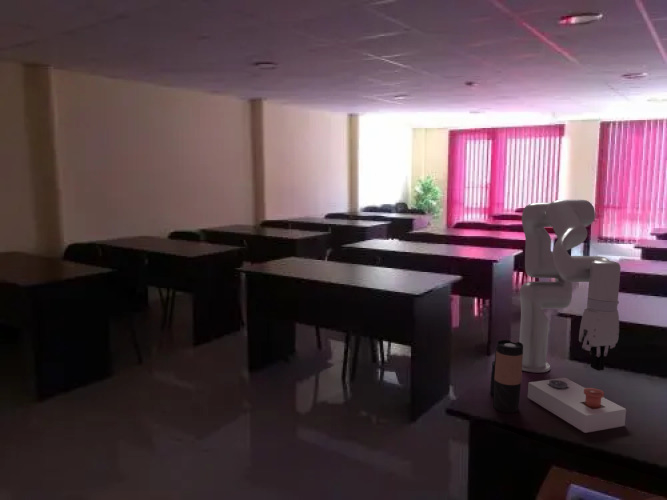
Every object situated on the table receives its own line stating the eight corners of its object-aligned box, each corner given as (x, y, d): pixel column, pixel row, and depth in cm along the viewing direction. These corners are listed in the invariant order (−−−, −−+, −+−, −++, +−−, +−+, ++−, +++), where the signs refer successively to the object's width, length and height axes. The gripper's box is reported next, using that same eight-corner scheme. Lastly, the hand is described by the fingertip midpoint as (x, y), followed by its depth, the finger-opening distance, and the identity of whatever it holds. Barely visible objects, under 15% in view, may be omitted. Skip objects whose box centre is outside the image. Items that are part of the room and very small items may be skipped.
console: (527, 397, 170) (528, 382, 170) (563, 392, 175) (564, 377, 174) (584, 432, 148) (586, 415, 147) (624, 425, 152) (626, 409, 152)
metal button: (544, 394, 169) (545, 380, 169) (558, 392, 171) (559, 379, 170) (556, 401, 164) (557, 387, 164) (570, 399, 166) (571, 385, 165)
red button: (578, 403, 156) (579, 389, 155) (592, 401, 157) (594, 386, 157) (592, 411, 151) (593, 396, 150) (607, 409, 153) (608, 394, 152)
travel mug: (499, 413, 159) (503, 348, 156) (488, 402, 166) (492, 340, 163) (524, 412, 160) (528, 347, 157) (511, 401, 168) (515, 339, 164)
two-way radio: (490, 388, 177) (492, 344, 175) (504, 390, 176) (507, 345, 174) (490, 395, 172) (492, 350, 170) (504, 397, 171) (507, 351, 168)
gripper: (612, 300, 155) (607, 362, 158) (570, 303, 151) (565, 367, 153) (634, 306, 148) (628, 370, 151) (591, 310, 144) (585, 376, 146)
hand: (597, 368), depth 152 cm, fingers closed
